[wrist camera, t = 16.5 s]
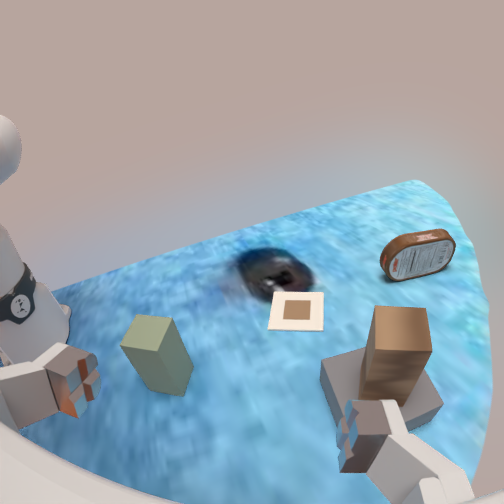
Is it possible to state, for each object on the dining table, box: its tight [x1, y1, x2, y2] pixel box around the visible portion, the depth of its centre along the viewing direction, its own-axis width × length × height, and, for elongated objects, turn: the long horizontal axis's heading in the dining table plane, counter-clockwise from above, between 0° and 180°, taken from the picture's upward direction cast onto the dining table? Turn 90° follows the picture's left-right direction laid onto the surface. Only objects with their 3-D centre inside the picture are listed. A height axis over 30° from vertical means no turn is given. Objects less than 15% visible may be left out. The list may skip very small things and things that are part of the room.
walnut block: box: [358, 306, 432, 407], centre depth 27 cm, size 5×5×10 cm
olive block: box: [120, 314, 194, 397], centre depth 36 cm, size 5×5×10 cm
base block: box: [320, 347, 444, 431], centre depth 31 cm, size 11×11×5 cm
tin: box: [380, 229, 456, 281], centre depth 48 cm, size 15×3×8 cm, turn 96°
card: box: [268, 292, 323, 332], centre depth 47 cm, size 8×8×1 cm
